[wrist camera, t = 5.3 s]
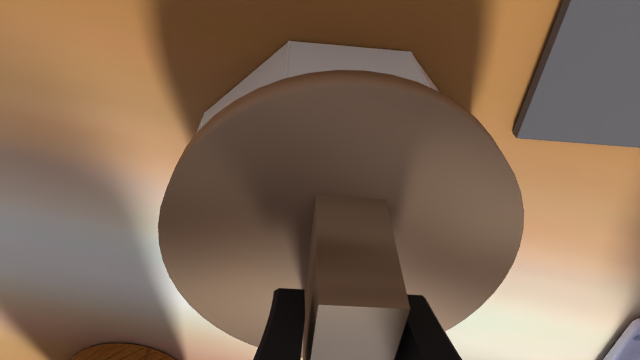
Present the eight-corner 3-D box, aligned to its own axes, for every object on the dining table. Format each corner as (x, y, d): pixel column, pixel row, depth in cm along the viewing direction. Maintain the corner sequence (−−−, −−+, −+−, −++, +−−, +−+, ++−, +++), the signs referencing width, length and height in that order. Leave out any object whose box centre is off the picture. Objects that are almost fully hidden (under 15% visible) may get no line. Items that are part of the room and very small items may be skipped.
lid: (457, 340, 17) (498, 474, 13) (180, 328, 16) (144, 467, 13) (567, 88, 11) (692, 201, 8) (148, 51, 11) (62, 158, 7)
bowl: (427, 263, 20) (447, 334, 17) (211, 251, 19) (194, 322, 16) (494, 58, 14) (539, 109, 12) (200, 31, 14) (172, 79, 11)
